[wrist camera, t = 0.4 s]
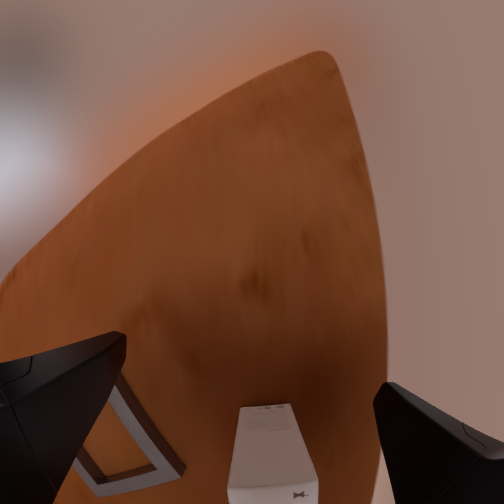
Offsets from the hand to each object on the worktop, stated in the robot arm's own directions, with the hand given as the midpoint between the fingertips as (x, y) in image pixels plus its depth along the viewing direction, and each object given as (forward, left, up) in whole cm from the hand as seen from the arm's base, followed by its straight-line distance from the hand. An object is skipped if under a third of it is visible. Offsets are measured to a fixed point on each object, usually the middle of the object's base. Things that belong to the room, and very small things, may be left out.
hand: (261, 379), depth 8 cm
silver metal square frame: (-2, +18, -14) cm, 23 cm away
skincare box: (-8, +4, -14) cm, 17 cm away
